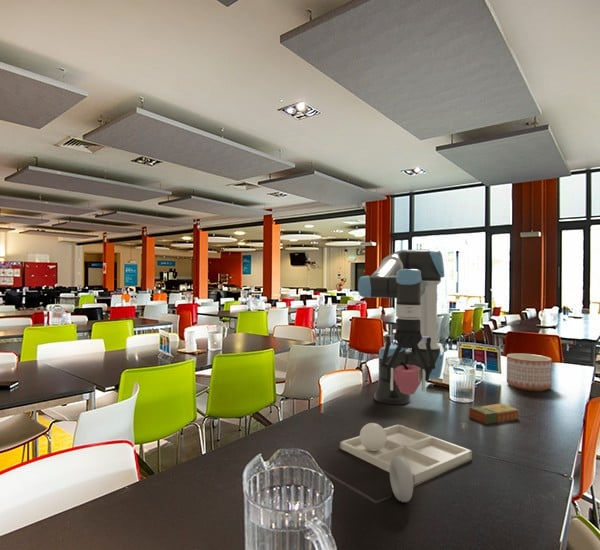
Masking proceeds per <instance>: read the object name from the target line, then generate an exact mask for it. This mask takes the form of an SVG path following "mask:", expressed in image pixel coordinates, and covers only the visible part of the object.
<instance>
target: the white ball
mask: <svg viewBox="0 0 600 550" xmlns="http://www.w3.org/2000/svg"><path fill="white" fill-rule="evenodd" d="M359 436H360V441H361V443H362V445H363V446H364V448H366V449H367V450H369V451H373V452H375V451H379V450H381V449H382V448H383V447H384V446H385V444H386V441H387V435H386V432H385V430H384V428H383V426H382V425H380V424H379V423H376V422H369V423H366V424H365V425H364V426H363V427H361V429H360V431H359Z"/></svg>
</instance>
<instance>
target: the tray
mask: <svg viewBox="0 0 600 550" xmlns="http://www.w3.org/2000/svg"><path fill="white" fill-rule="evenodd" d="M383 429H384V430H385V432H386V435H387V441H386V444H385V446H384V447H383V448H382V449H381V450H379V451H375V452H373V451H369V450H367V449H366V448H364V446H363V445H362V443H361V441H360V435H358V436H355V437H352V438H351V437H350V438H348V439H344V440H341V441H340V442H339V449H340V450H341V451H345V452H347V453H349V454H351V455H353V456H355V457H356V458H359V459H361V460H362V461H365V462H367V463H370V464H371V465H373V466H375V467H377V468H379V469H380V470H383V471H385V472H388V473H389V474H390V463H391V460H392V458H393V457H395V456H398V455H399V456H402V457H404V458H405V459H406V460H407V462H408V464H409V466H410V469H411V472H412V478H413V485H414V484H416V483H418V484H420V483H422V482H421V481H423V482H425V481H427V480H429V479H432V478H433V476H434V477H436V476H438V475H440V474H442V473H445V472H446V471H449V470H452V469H453V468H455V467H458V466H460V465H462V464H464V463H467V462H469V461H471V460H473V451H472V450H471V449H469V448H466V447H463V446H461V445H458V444H455V443H452V442H449V441H447V440H443V439H441V438H438V437H435V436H432V435H430V434H428V433H424V432H421V431H419V430H416V429H414V428H410V427H407V426H405V425H402V424H399V423H397V424H395V425H394V424H393V425H391V426H387V427H384V428H383ZM428 478H429V479H428ZM426 479H427V480H426ZM424 480H425V481H424ZM419 482H420V483H419ZM416 485H417V484H416ZM414 486H415V485H414Z"/></svg>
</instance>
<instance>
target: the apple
mask: <svg viewBox="0 0 600 550" xmlns="http://www.w3.org/2000/svg"><path fill="white" fill-rule="evenodd" d="M400 364H401V365H400V366H398V367H396V368H395V369H394V371H393V378H394V380H395V383H396V384H397V386H398V388H399V390H400V392H401V393H403V394H407V395H408V394H409V395H410V396H411V395H415V393H416V391H417V390H418V388H419V386H420V385H421V384H422V371H421V368H420V367H417V366H415V365H406V364H405V363H404V362H401V363H400Z"/></svg>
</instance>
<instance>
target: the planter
mask: <svg viewBox="0 0 600 550" xmlns="http://www.w3.org/2000/svg"><path fill="white" fill-rule="evenodd" d="M552 361H553V360H552V358H551V357H548V356H544V355H538V354H532V353H508V354H506V383H507V384H508V385H510V386H511V387H512V386H513V387H512V388H514V387H515V388H514V389H517V388H518V389H517V390H521V389H522V390H521V391H527V390H528V391H529V392H545V391H547V390H549V389H551V388H552V363H553V362H552ZM528 391H527V392H528Z"/></svg>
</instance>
